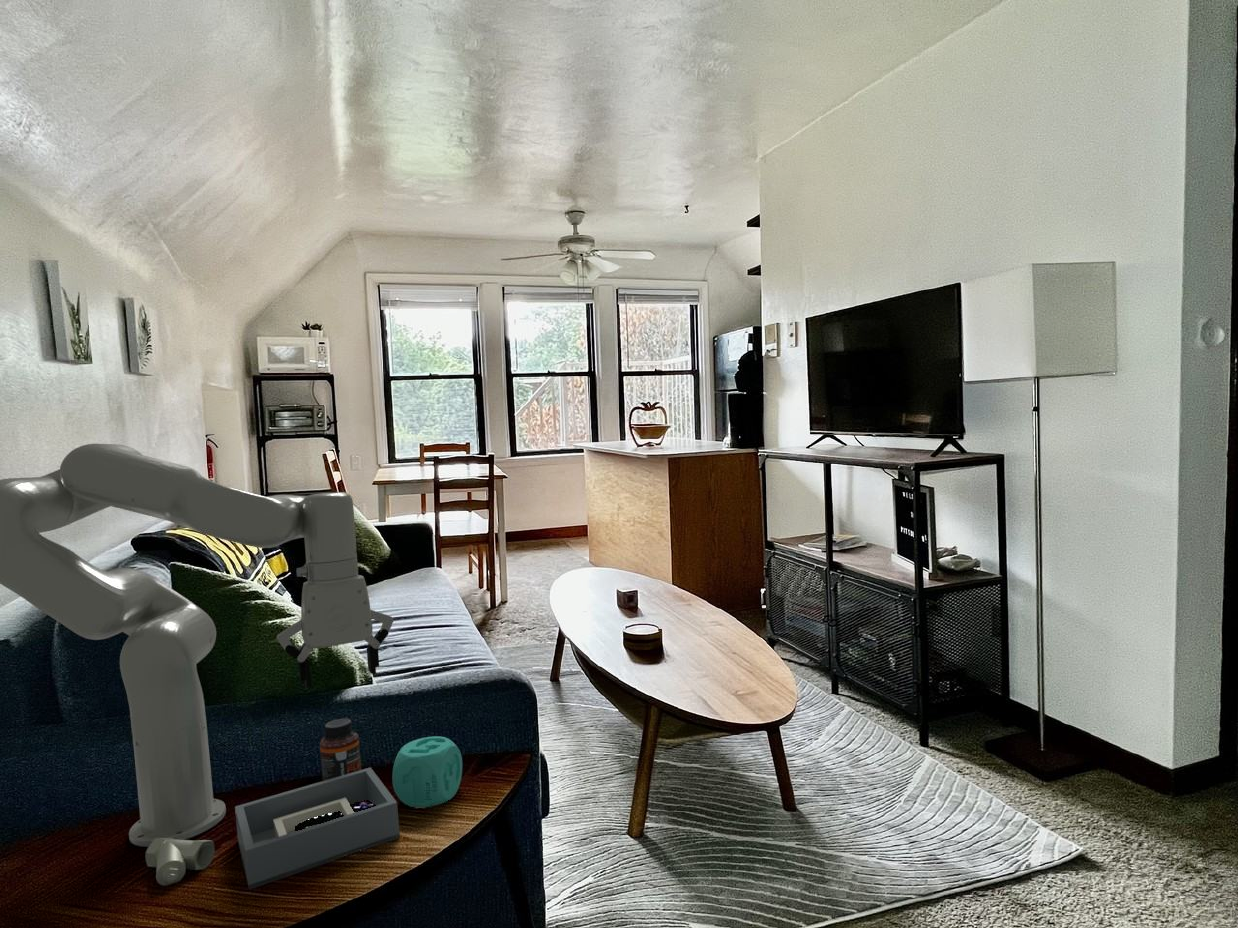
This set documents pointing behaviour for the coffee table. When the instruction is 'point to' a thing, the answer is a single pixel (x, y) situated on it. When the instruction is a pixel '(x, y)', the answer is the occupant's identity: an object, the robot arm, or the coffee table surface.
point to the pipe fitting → (178, 857)
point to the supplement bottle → (339, 749)
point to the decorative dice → (427, 771)
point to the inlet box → (286, 852)
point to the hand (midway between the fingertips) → (340, 678)
